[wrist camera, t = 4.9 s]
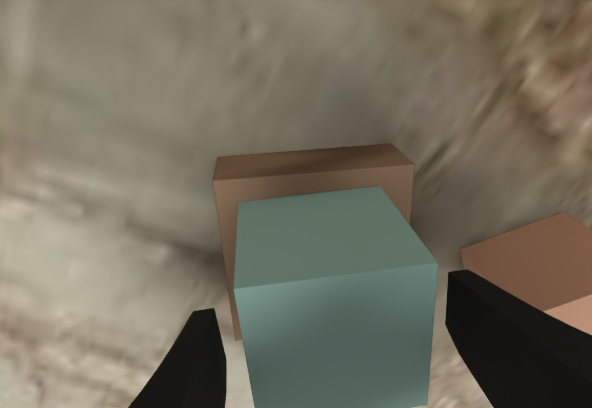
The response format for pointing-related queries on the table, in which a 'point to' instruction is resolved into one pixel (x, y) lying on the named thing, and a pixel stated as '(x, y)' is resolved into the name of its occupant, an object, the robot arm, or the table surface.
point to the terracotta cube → (541, 267)
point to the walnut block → (303, 185)
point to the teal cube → (334, 301)
